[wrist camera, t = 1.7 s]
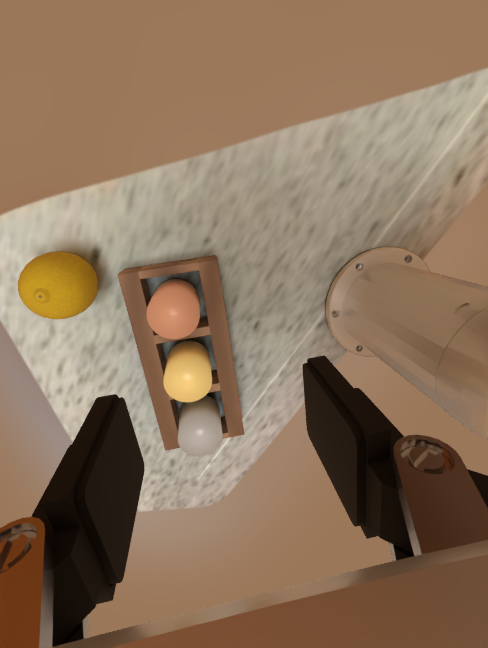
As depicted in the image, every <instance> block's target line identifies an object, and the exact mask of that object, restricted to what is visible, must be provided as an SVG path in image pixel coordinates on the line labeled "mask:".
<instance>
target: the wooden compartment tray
mask: <svg viewBox="0 0 488 648" xmlns="http://www.w3.org/2000/svg"><path fill="white" fill-rule="evenodd" d="M197 270H199V273H200V278H201V284H202V289H203V295H204V301H205V306H206V312H207V317H203V318H200V319H199V323H198V325H197V327H196V329H195V330H194V331H193V332H192V333H191V334H189V335H188V336H186V337H184V338H180V339H167V338H164V337H162V336H160V335H158V334H157V333H155V332H154V331H153V330H152V328H151V327H150V325H149V323H148V320H147V307H148V305H149V302H150V300H151V297H150V293H149V288H148V284H147V280H146V278H151V277H158V276H164V275H171V274H177V273H184V272H190V271H197ZM118 278H119V282H120V285H121V289H122V293H123V296H124V300H125V304H126V307H127V311H128V315H129V318H130V322H131V326H132V329H133V333H134V337H135V340H136V344H137V348H138V351H139V355H140V359H141V362H142V366H143V370H144V373H145V377H146V381H147V385H148V388H149V392H150V396H151V399H152V403H153V407H154V410H155V414H156V418H157V421H158V425H159V429H160V432H161V436H162V440H163V443H164V447H165V450H170V449H175V448H180V446H179V444H178V429H179V413H178V409H177V405H176V401H175V399H173V398H172V397H171V396H169V394H168V393H167V392H166V390H165V388H164V383H163V380H164V374H165V369H166V359H165V355H164V351H163V347H162V343H165V342H171V341H177V340H182V339H188V338H194V337H200V336H206V335H211V340H212V345H213V351H214V357H215V362H216V368H217V370H213V371H211V373H212V386H211V388H210V390H209V392H214V391H220V390H221V396H222V401H223V407H224V413H225V417H221V426H222V434H223V439H224V438H229V437H234V436H239V435H244V428H243V422H242V415H241V409H240V403H239V396H238V390H237V383H236V377H235V371H234V364H233V358H232V351H231V345H230V339H229V332H228V326H227V319H226V313H225V307H224V300H223V294H222V287H221V281H220V274H219V268H218V262H217V258H216V256H215V255H214V256H208V257H201V258H194V259H188V260H181V261H174V262H168V263H161V264H154V265H148V266H141V267H134V268H128V269H124V270H123V271H122V272H120V273H119V274H118ZM209 392H208V393H209Z"/></svg>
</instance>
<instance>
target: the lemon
mask: <svg viewBox="0 0 488 648" xmlns="http://www.w3.org/2000/svg"><path fill="white" fill-rule="evenodd" d="M97 290H98V279H97V276H96V273H95V271H94V270H93V268H92V267H91V265H90V264H88V263H87V262H86V261H85V260H84V259H82V258H81V257H79V256H77V255H74V254H71V253H67V252H50V253H46V254H43V255H40V256H38V257H36V258H34V259H33V260H32V261H31V262H29V263H28V264H27V265H26V266H25V268H24V269H23V271H22V272H21V274H20V277H19V280H18V291H19V295H20V298H21V299H22V301H23V303H24V304H25V305H26V306H27V307H28V308H29V309H30V310H31V311H33V312H34V313H35V314H37V315H40V316H42V317H45V318H50V319H65V318H69V317H73V316H76V315H78V314H79V313H81V312H83V311H85V310H86V309H87V308H88V307H89V306H90V305H91V304H92V302H93V301H94V299H95V297H96V295H97Z"/></svg>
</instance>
